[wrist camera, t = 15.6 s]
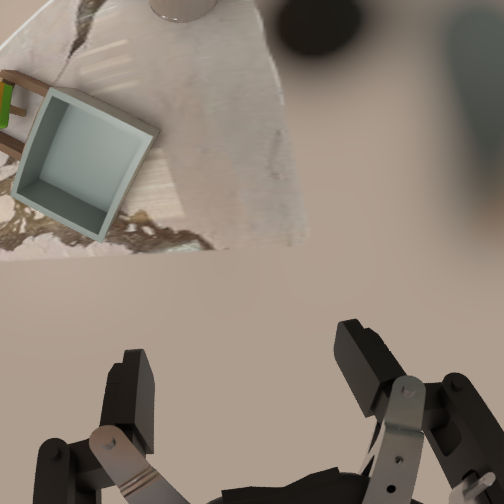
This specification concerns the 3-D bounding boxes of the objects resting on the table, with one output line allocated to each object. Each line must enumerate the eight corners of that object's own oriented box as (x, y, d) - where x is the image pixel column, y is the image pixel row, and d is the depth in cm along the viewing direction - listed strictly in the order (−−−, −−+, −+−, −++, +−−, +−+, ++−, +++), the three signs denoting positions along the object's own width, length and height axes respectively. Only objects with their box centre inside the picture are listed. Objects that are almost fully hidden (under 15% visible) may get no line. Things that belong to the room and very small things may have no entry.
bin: (74, 88, 32) (50, 86, 25) (160, 130, 38) (153, 136, 31) (36, 179, 36) (10, 195, 29) (115, 219, 42) (101, 243, 35)
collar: (15, 70, 28) (1, 69, 25) (65, 92, 32) (53, 92, 29) (-10, 133, 31) (-24, 137, 28) (37, 157, 35) (24, 163, 32)
